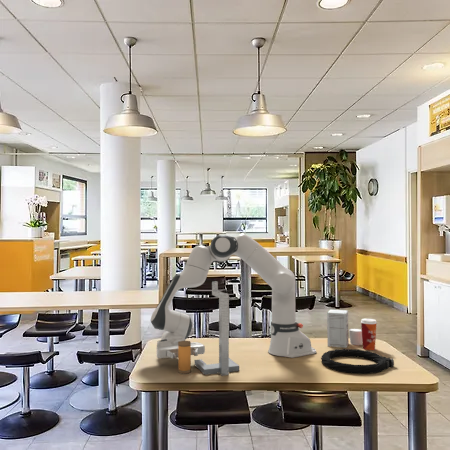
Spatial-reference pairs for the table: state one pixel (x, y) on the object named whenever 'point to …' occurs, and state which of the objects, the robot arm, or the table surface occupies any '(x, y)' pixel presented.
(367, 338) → the paper cup
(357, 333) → the white short cylinder
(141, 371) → the table surface
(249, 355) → the table surface
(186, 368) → the orange brown canister
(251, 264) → the robot arm
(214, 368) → the grey u-shaped bracket
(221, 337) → the hook stand
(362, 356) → the cable lock
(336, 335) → the supplement box
